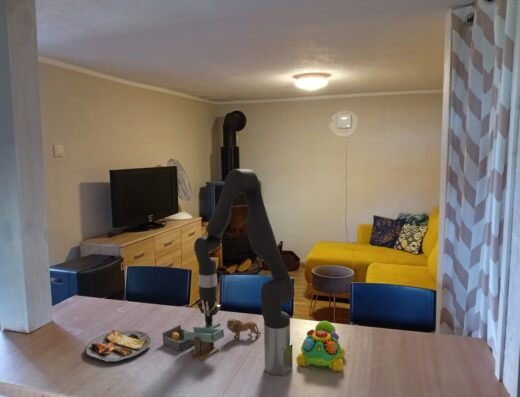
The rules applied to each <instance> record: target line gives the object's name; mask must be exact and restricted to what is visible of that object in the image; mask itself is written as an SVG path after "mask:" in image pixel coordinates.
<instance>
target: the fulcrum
mask: <svg viewBox="0 0 520 397" xmlns="http://www.w3.org/2000/svg"><path fill="white" fill-rule="evenodd" d="M214 343H215V342H214ZM214 343H212V342H204V341H200V338H197V337H194V346H193V347H194V352H192V353H191V354H189V358H192V359H194V360H197V361H198V362H202V361H204V360H206V359H209V357H212V355H214V354H215V353H218V352H220V348H218V347H215V344H214Z"/></svg>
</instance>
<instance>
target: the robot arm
mask: <svg viewBox="0 0 520 397" xmlns="http://www.w3.org/2000/svg"><path fill="white" fill-rule="evenodd" d="M261 190H262V188H261V185H260V182H259V178H258V176H257V174H256V172H255V171H254V170H252V169H249V168H234V169H232V170H230V171H229V172H228V174H227V175H226V178H225V180H224V182H223V186H222V190H221V193H220V195H219V199H218V202H217V204H216V207H215V209H214V212H213V214H212V216H211V217H210V219H209V221H208V223H207V225H206V230H205V231H206V233H207V234H206V235H204V236H200V237H198V238H196V240H195V242H194V244H193V249H194V253H195V257H196V261H197V264H198V283H197V284H198V295H199V298H198V299H196V300H195V303H196V305H197V307H198V310H199V311H200V313H201V314H203V315H204V321H205V325H206V324H207V325H210V324H212V322H213V316H215V315H217V314H218V312H219V311H220V309H221V308H222V304H219V303H218V298H217V295H218V276H217V261H216V259H215V258H213V257H210V253H212V252H216V251H217V249H218V248H219V247H220V245H221V242H222V238H223V234H224V232H225V231H226V229H227V227H228V225H229V223H230V221H231V218H232V217H231V216H232V205H233V203H234V200H235V199H236V198H237V197H238V195H242V194H243V196H244V198H245V201H246V205H247V217H246V222H245V223H246V224H245V225H246V226H245V231H246V234H247V238H248V241H249V244H250V247H251V248H252V250H253V252H254V253H255V254H256V255H257V256H258V257H259V258H260V259H261V260H262V261H263V262H264V263H265V265H266V266H267V267H268V269H269V271H270V274H271V278H272V279H271V280H268V281H265V282H264V283H263V284H262V286H261V288H260V302H261V303H260V306H261V315H262V318H263V328H264V329H263V332H264V333H263V334H264V335H263V336H264V337H263V338H264V340H263V341H264V342H263V343H264V345H263V347H264V351H263V352H264V370H265V372H267V373H268V374H269V375H273V376H281V377H284V376H285V375H286V374H288V373H289V372H290V371H292V370H293V368H294V367H293V362H294V360H293V343H291V317H290V316H291V315H289V314H288V313H287V312H285V311H283V310H282V306H283V305H285V304H287V303H290V302H291V301H292V300H294V298H295V287H294V284H293V281H292V278H291V276H290V273H289V271H288V269H287V267H286V265H285V262H284V261H283V258H282V255H281V252H280V249H279V247H278V244H277V241H276V240H277V239H276V237H275V233H274V230H273V228H272V225H271V222H270V220H269V215H268V212H267V210H266V207H265V202H264V199H263V195H262V191H261ZM213 323H214V322H213Z"/></svg>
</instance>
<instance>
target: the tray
mask: <svg viewBox="0 0 520 397" xmlns="http://www.w3.org/2000/svg"><path fill="white" fill-rule="evenodd" d="M174 332H177V333H178V334H179V339H178V340H173V339H172V338H171V335H172V334H173V333H174ZM183 332H190V331H188V330H186V329H184V328H182V325H181V324H179V325H176V326H174V327H172V328H170V329H168V330H166V331H164V332H162V344H163V345H164V346H165V347H166V346H167V347H169V348H170V349H173V350H175V351H177V352H183V351H184V350H186V349H188V348H190V347H191V346H193V345H194V340H186V339H185V338H184V333H183Z"/></svg>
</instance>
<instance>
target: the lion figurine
mask: <svg viewBox="0 0 520 397" xmlns="http://www.w3.org/2000/svg"><path fill="white" fill-rule="evenodd" d="M226 328H227V330H229V331H231V332H232V334H235V335H234V336H233V338H236V341H239V340H240V338H241V337H240V335H241V332H246V331H248V330H249V331H250V333H248V336H252V335H253V334H255V336H254V337H255V339H258V338H259V335H262V333H261V332H260V330H259V328H258V325H257V323H256V322H253V321H251V320H250V321H246V322H243V321H240V320H239V319H238V320H237V319H236V318H229V319H228V320H227V323H226Z"/></svg>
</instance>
